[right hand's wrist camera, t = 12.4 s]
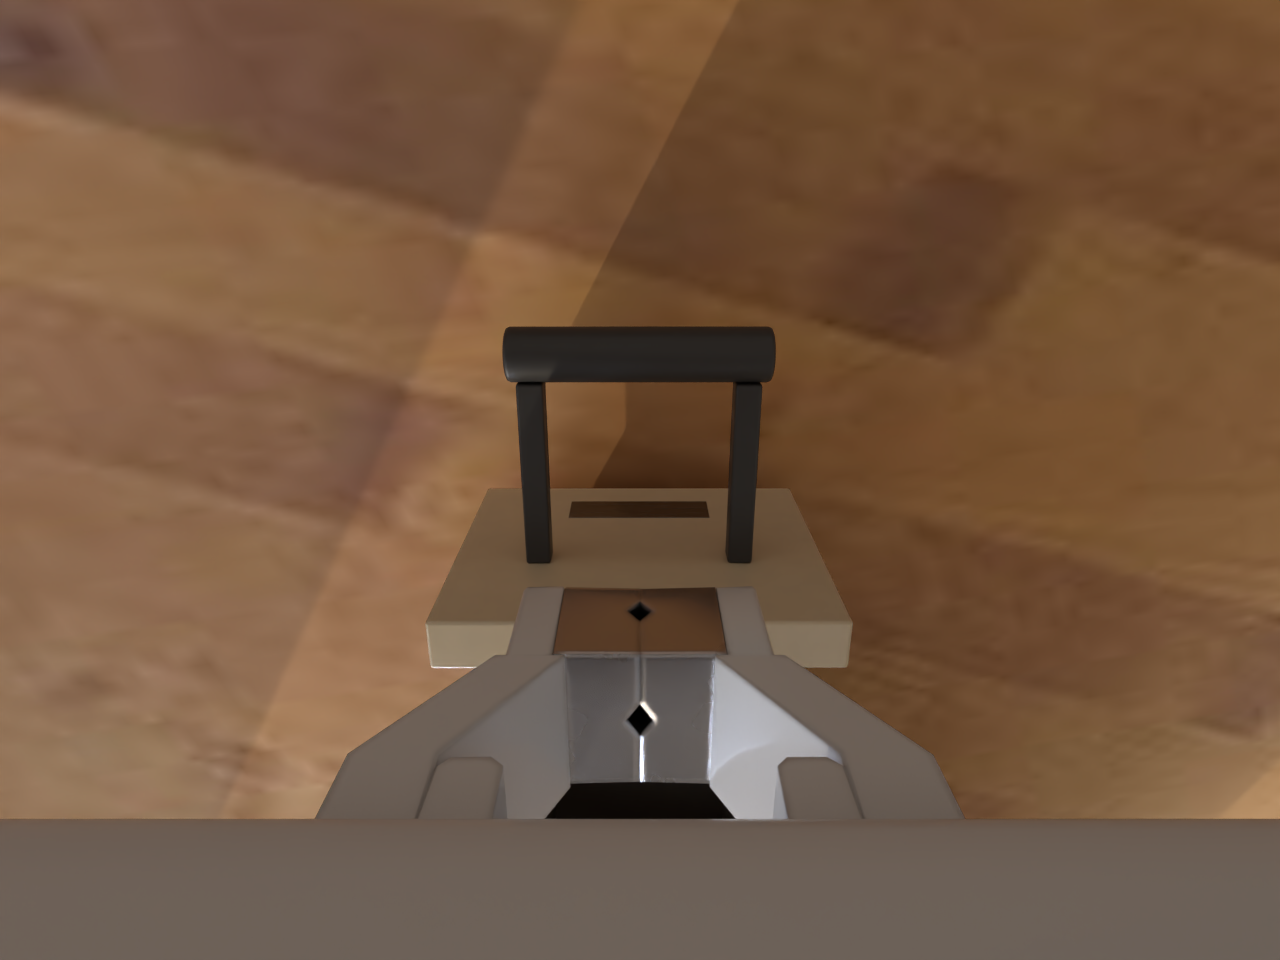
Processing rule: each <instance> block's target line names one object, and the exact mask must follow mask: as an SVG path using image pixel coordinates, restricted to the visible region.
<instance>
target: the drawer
mask: <svg viewBox="0 0 1280 960" xmlns="http://www.w3.org/2000/svg"><path fill="white" fill-rule="evenodd" d="M775 358H776V344H775V336H774V332H773V329H772V328H770V327H508V328H506V330H505V333H504V336H503V367H504V373H505V376H506V378H507V380H508V381H510V382H518V383H517V385H516V398H517V415H518V431H519V447H520V464H521V480H522V488H490V489H488V491H487V493H486V495H485V497H484V500H483V502H482V504H481V506H480V508H479V510H478V512H477V514H476V517H475V519H474V521H473V523H472V525H471V527H470V529H469V531H468V534H467V536H466V538H465V540H464V542H463V544H462V546H461V549H460V551H459V553H458V555H457V557H456V559H455V561H454V563H453V566H452V568H451V570H450V572H449V574H448V576H447V578H446V580H445V583H444V585H443V587H442V589H441V591H440V593H439V595H438V598H437V600H436V602H435V604H434V606H433V608H432V610H431V612H430V615H429V617H428V619H427V621H426V632H427V641H428V649H429V657H430V665H431V667H432V668H476V667H478V666H479V665H481V664H482V663H484V662H485V661H487V660H488V659H490V658H491V657H493V656H494V655H506V652H507V649H508V645H509V642H510V638H511V634H512V631H513V627H514V624H515V620H516V617H517V613H518V609H519V606H520V602H521V599H522V595H523V591H524V590H525V589H526V588H528V587H555V586H563V587H564V588H566V587H586V588H640V589H659V588H701V587H715V588H721V587H743V586H752V587H753V588H755V589H756V592H757V596H758V599H759V603H760V607H761V610H762V614H763V617H764V621H765V624H766V628H767V631H768V635H769V638H770V642H771V645H772V649H773V653H774V655H786V656H787V657H789V658H790V659H792V660H793V661H795V662H796V663H798V664H799V665H801V666H802V667H804V668H845V667H847V665H848V660H849V651H850V643H851V635H852V626H853V622H852V620H851V618H850V616H849V614H848V612H847V609H846V607H845V605H844V603H843V601H842V599H841V597H840V595H839V592H838V590H837V588H836V586H835V584H834V582H833V580H832V578H831V576H830V573H829V571H828V569H827V567H826V565H825V563H824V561H823V559H822V556H821V554H820V552H819V550H818V548H817V546H816V544H815V542H814V540H813V537H812V535H811V533H810V531H809V529H808V527H807V525H806V523H805V521H804V518H803V516H802V514H801V512H800V510H799V508H798V506H797V504H796V501H795V499H794V497H793V495H792V493H791V491H790V489H788V488H756V483H757V466H758V450H759V433H760V417H761V400H762V385H761V383H760V382H768V381H770V380H771V379H772V376H773V373H774V368H775ZM545 382H733V396H732V418H731V439H730V461H729V483H728V488H550V476H549V455H548V433H547V412H546V390H545ZM545 819H736V818H735V817H734V816H733V815H732V814H731V812H730V811H729V810H728V809H727V807H726V806H725V805H724V804H723V802H722V801H721V800H720V799H719V798H718V796H717V795H716V794H715V793H714V791H713V790H712V789H711V788H710V784H707V783H670V782H608V783H573V784H570V788H569V790H568V791H567V792H566V793H565V795H564V796H563V797H562V798H561V799H560V801H559V802H558V803H557V804H556V806H555V807H554V808H553V809H552V810H551V812H550V813H549V814H548V815H547V817H546V818H545Z"/></svg>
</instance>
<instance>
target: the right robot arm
mask: <svg viewBox="0 0 1280 960" xmlns="http://www.w3.org/2000/svg"><path fill="white" fill-rule="evenodd" d="M608 782H670V783H707V784H710V788H711V789H712V790H713V791H714V793H715V794H716V795H717V796H718V798H719V799H720V800H721V801H722V802H723V804H724V805H725V806H726V807H727V809H728V810H729V811H730V812H731V814H732V815H733V816H734V817H735V818H736V819H545V818H546V817H547V815H548V814H549V813H550V812H551V810H552V809H553V808H554V807H555V806H556V804H557V803H558V802H559V801H560V799H561V798H562V797H563V796H564V795H565V793H566V792H567V791H568V790H569V788H570V784H573V783H608ZM0 960H1280V819H965V817H964V815H963V813H962V811H961V809H960V807H959V805H958V803H957V801H956V799H955V797H954V795H953V793H952V791H951V789H950V787H949V785H948V783H947V781H946V779H945V777H944V775H943V773H942V771H941V769H940V767H939V765H938V763H937V761H936V759H935V757H934V755H933V754H931V753H930V752H928V751H927V750H925V749H924V748H922V747H921V746H919V745H918V744H916V743H915V742H913V741H912V740H910V739H909V738H907V737H906V736H905V735H903V734H902V733H900V732H899V731H897V730H896V729H894V728H893V727H891V726H890V725H888V724H887V723H885V722H884V721H882V720H881V719H879V718H878V717H876V716H875V715H873V714H872V713H870V712H869V711H867V710H866V709H864V708H863V707H861V706H860V705H859V704H857V703H856V702H854V701H853V700H851V699H850V698H848V697H847V696H845V695H844V694H842V693H841V692H839V691H838V690H836V689H835V688H833V687H832V686H830V685H829V684H827V683H826V682H824V681H823V680H821V679H820V678H818V677H817V676H815V675H814V674H812V673H811V672H810V671H808V670H807V669H805V668H804V667H802V666H801V665H799V664H798V663H796V662H795V661H793V660H792V659H790V658H789V657H787V656H786V655H774V653H773V649H772V645H771V642H770V638H769V635H768V631H767V628H766V624H765V621H764V617H763V614H762V610H761V607H760V603H759V599H758V596H757V592H756V589H755V588H753V587H752V586H743V587H721V588H715V587H701V588H659V589H640V588H586V587H566V588H564V587H563V586H555V587H528V588H526V589H525V590H524V591H523V595H522V599H521V602H520V606H519V609H518V613H517V617H516V620H515V624H514V627H513V631H512V634H511V638H510V642H509V645H508V649H507V652H506V655H494V656H493V657H491V658H490V659H488V660H487V661H485V662H484V663H482V664H481V665H479V666H478V667H476V668H475V669H473V670H472V671H470V672H469V673H467V674H466V675H464V676H463V677H461V678H460V679H458V680H457V681H455V682H454V683H453V684H451V685H450V686H448V687H447V688H445V689H444V690H442V691H441V692H439V693H438V694H436V695H435V696H433V697H432V698H430V699H429V700H427V701H426V702H424V703H423V704H421V705H420V706H418V707H417V708H415V709H414V710H412V711H411V712H409V713H408V714H406V715H405V716H403V717H402V718H400V719H399V720H397V721H396V722H394V723H393V724H391V725H390V726H388V727H387V728H385V729H384V730H382V731H381V732H379V733H378V734H376V735H375V736H373V737H372V738H370V739H369V740H367V741H366V742H365V743H363V744H362V745H360V746H359V747H357V748H356V749H354V750H353V751H351V752H350V753H348V754H347V756H346V758H345V760H344V762H343V764H342V766H341V768H340V770H339V772H338V774H337V776H336V778H335V780H334V782H333V784H332V786H331V788H330V790H329V792H328V794H327V796H326V798H325V800H324V802H323V804H322V805H321V807H320V809H319V811H318V813H317V815H316V817H315V819H0Z"/></svg>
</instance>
